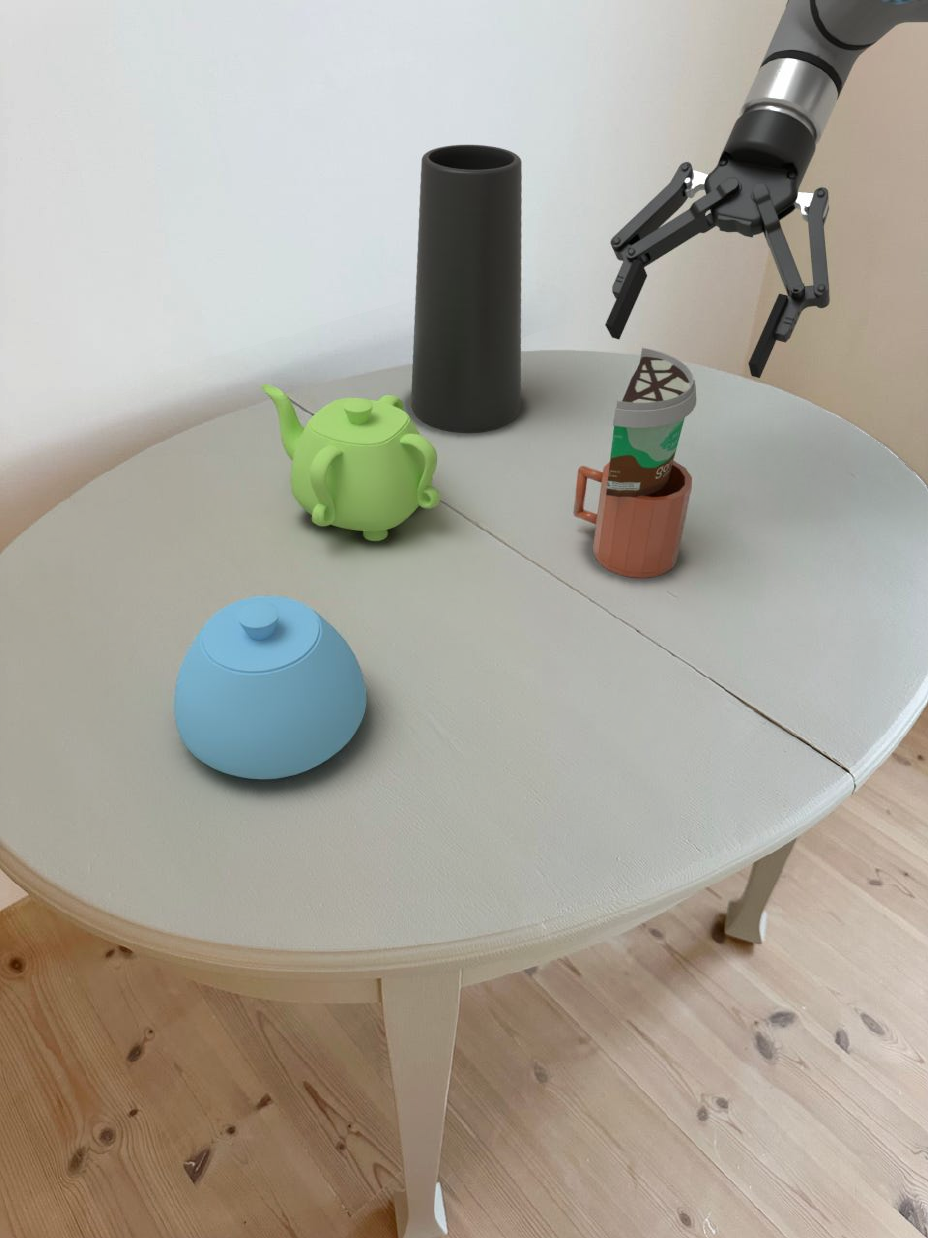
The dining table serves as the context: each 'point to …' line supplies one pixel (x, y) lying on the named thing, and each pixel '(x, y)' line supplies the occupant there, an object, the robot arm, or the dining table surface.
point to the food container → (649, 425)
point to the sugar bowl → (268, 690)
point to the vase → (468, 289)
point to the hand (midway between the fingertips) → (680, 351)
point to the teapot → (358, 463)
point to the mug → (637, 524)
